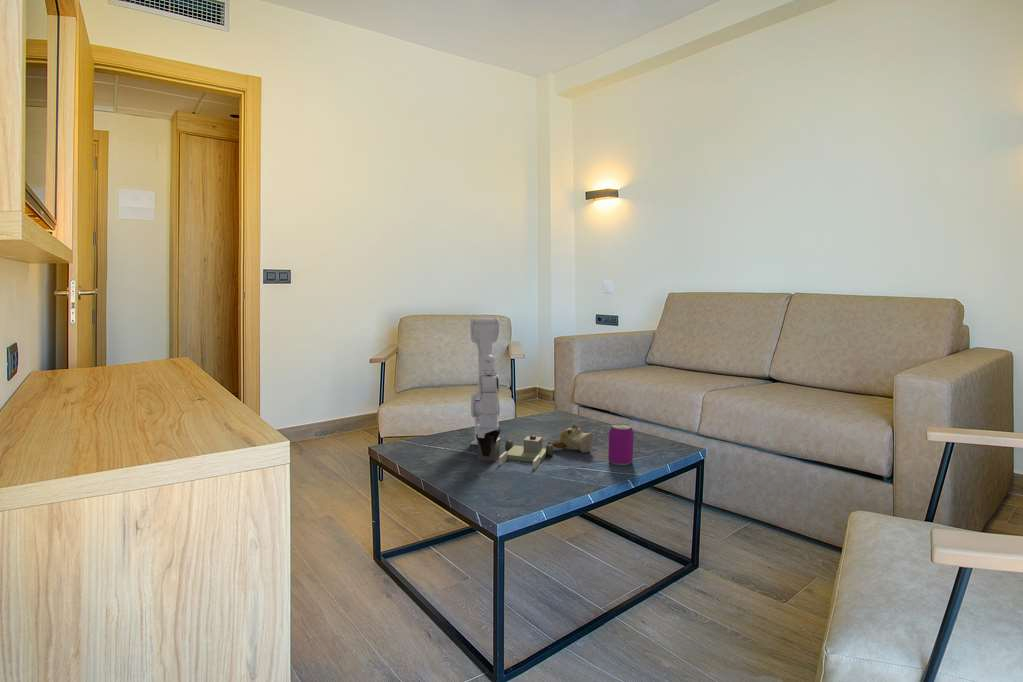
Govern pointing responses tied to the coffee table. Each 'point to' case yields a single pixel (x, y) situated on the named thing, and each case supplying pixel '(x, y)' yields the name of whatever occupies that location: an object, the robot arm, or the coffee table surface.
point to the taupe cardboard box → (493, 453)
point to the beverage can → (621, 444)
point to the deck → (527, 451)
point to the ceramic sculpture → (574, 440)
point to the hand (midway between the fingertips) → (488, 453)
